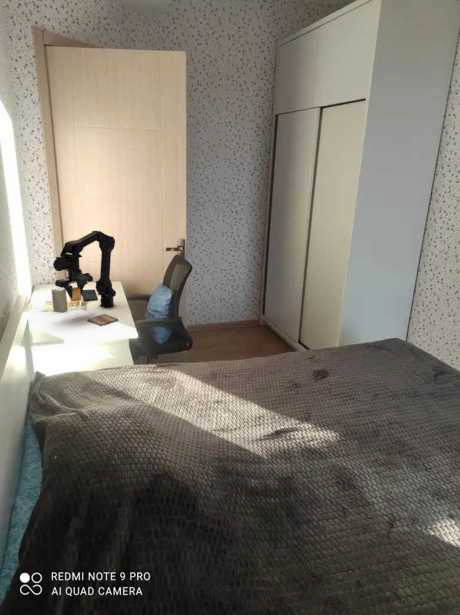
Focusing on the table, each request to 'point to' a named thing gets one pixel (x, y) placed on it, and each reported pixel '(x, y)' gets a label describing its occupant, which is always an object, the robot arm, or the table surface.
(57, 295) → the skincare box
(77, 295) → the orange cylinder
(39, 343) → the table surface
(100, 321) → the walnut pad
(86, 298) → the smart home device
